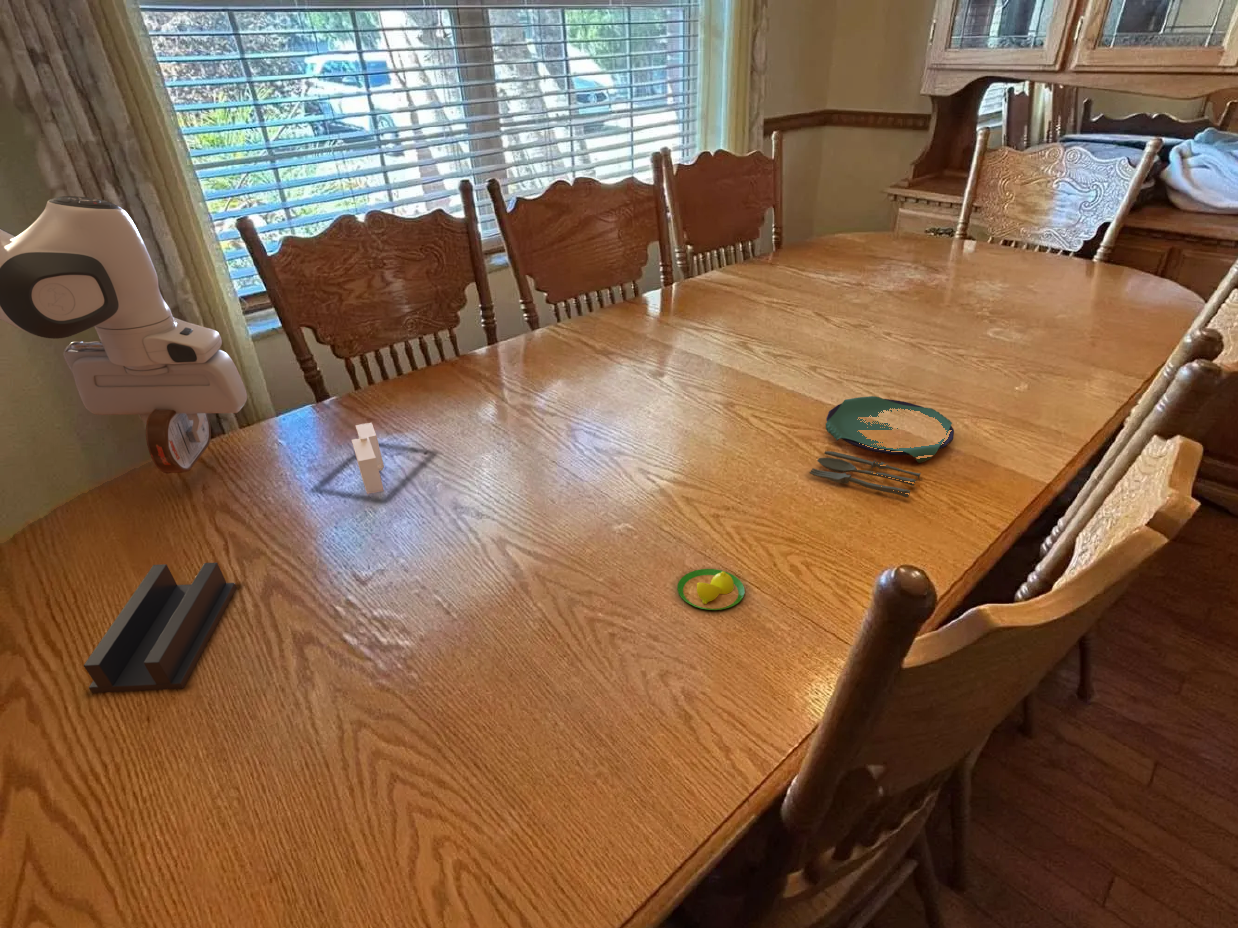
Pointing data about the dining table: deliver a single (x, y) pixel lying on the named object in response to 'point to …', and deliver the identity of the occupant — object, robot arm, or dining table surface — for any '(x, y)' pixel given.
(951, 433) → the cutlery set
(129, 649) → the holder
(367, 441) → the beige double block
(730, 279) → the dining table surface
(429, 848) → the dining table surface
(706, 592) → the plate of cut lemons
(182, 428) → the tin
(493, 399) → the dining table surface
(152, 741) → the dining table surface
